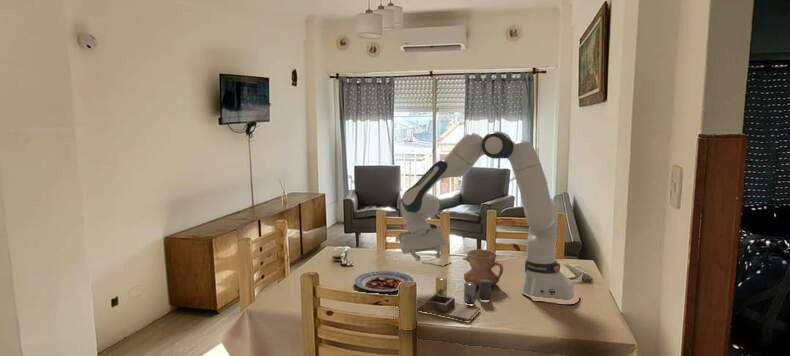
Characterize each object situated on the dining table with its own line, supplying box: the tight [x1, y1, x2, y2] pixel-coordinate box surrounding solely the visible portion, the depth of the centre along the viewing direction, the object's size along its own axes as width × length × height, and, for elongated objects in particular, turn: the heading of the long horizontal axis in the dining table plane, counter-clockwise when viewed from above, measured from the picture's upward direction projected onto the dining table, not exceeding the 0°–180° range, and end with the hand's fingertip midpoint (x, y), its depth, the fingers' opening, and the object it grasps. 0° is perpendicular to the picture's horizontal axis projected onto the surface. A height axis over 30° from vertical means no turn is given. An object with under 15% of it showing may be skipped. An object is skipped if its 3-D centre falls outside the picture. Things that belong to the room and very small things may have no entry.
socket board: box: [417, 293, 481, 322], centre depth 181 cm, size 20×12×4 cm, turn 61°
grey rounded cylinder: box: [478, 279, 492, 300], centre depth 191 cm, size 4×4×8 cm
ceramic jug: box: [462, 249, 504, 288], centre depth 209 cm, size 18×14×14 cm
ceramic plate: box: [354, 270, 415, 293], centre depth 211 cm, size 26×26×3 cm
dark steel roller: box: [463, 281, 477, 304], centre depth 188 cm, size 4×4×8 cm
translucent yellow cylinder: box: [435, 277, 448, 297], centre depth 194 cm, size 4×4×8 cm
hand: (428, 259), depth 203 cm, fingers open, 8 cm apart
